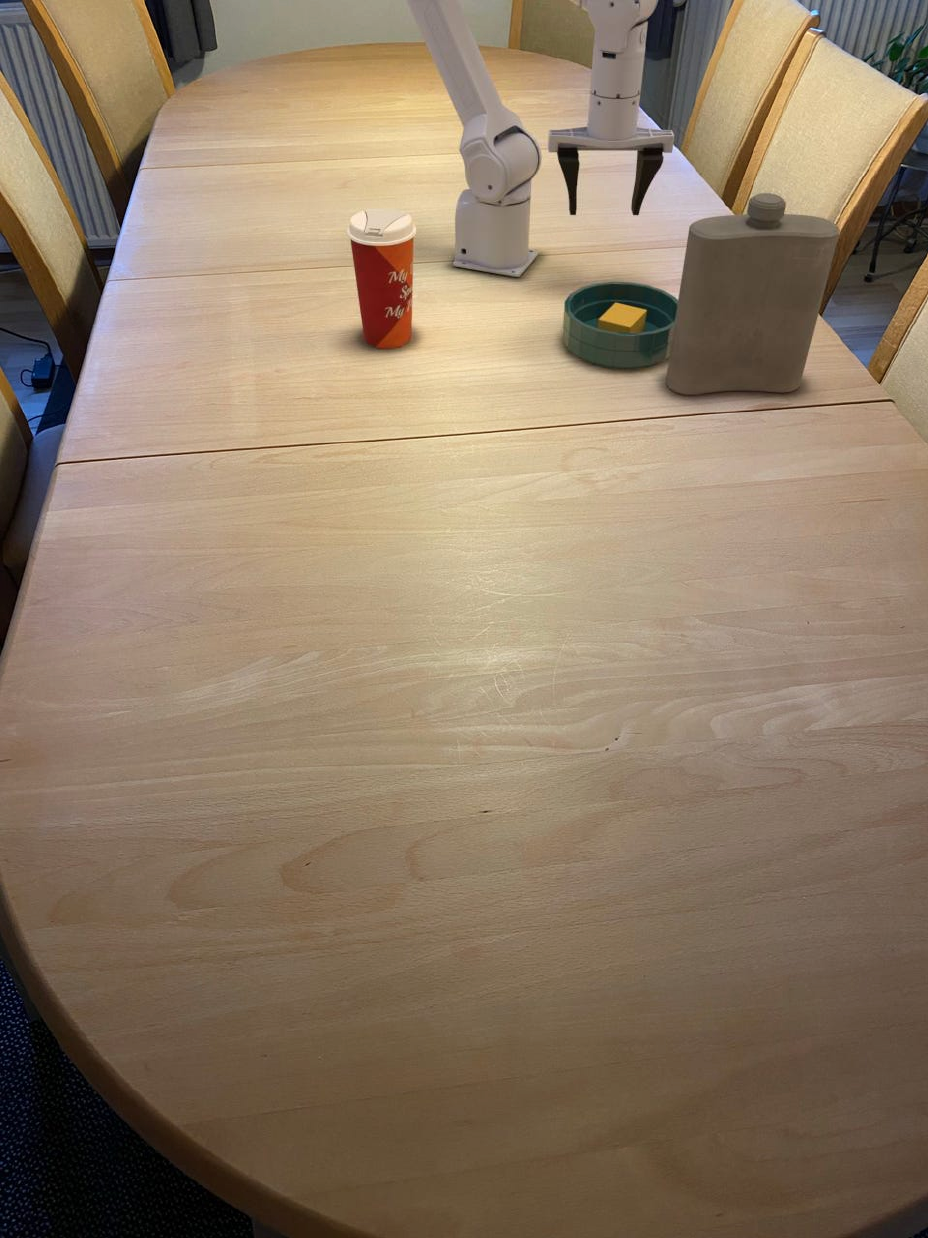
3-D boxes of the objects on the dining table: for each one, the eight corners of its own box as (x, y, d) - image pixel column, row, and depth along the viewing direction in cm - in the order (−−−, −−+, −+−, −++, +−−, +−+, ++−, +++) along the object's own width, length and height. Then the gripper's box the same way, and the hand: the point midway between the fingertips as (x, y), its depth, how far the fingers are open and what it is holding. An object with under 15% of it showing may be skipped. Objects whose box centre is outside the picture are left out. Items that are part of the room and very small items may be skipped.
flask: (790, 367, 113) (834, 186, 99) (805, 393, 109) (854, 208, 95) (659, 370, 112) (686, 189, 99) (670, 396, 108) (699, 211, 95)
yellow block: (595, 343, 116) (598, 319, 114) (612, 325, 119) (615, 302, 117) (627, 351, 115) (630, 327, 112) (643, 333, 118) (647, 309, 116)
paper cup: (411, 355, 115) (406, 235, 105) (347, 349, 116) (337, 230, 107) (426, 324, 121) (423, 208, 111) (365, 319, 122) (357, 203, 112)
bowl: (546, 358, 114) (548, 322, 111) (581, 308, 124) (584, 273, 121) (662, 381, 111) (667, 344, 108) (689, 328, 120) (695, 292, 117)
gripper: (673, 81, 116) (658, 199, 125) (549, 81, 116) (543, 199, 125) (683, 99, 111) (666, 221, 120) (552, 99, 111) (546, 221, 120)
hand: (603, 212), depth 122 cm, fingers open, 7 cm apart
